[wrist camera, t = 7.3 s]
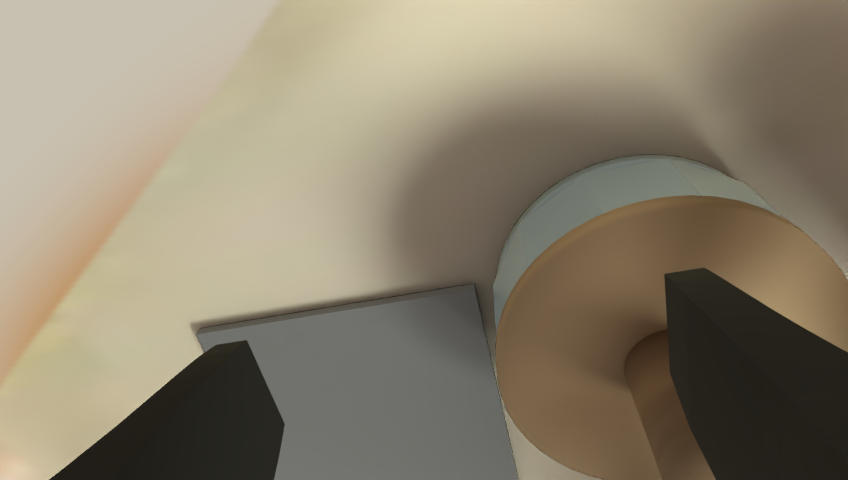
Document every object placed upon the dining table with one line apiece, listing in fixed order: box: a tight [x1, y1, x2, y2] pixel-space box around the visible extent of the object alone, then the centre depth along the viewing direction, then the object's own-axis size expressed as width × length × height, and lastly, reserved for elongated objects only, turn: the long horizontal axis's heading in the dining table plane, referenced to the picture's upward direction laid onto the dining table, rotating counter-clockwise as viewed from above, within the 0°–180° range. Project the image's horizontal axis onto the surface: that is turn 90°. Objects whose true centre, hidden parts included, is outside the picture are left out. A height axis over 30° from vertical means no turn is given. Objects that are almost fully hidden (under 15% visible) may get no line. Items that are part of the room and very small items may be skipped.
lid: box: [495, 195, 848, 480], centre depth 16 cm, size 10×10×5 cm
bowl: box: [493, 155, 782, 335], centre depth 20 cm, size 10×10×4 cm
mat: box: [196, 284, 519, 480], centre depth 25 cm, size 11×11×1 cm
